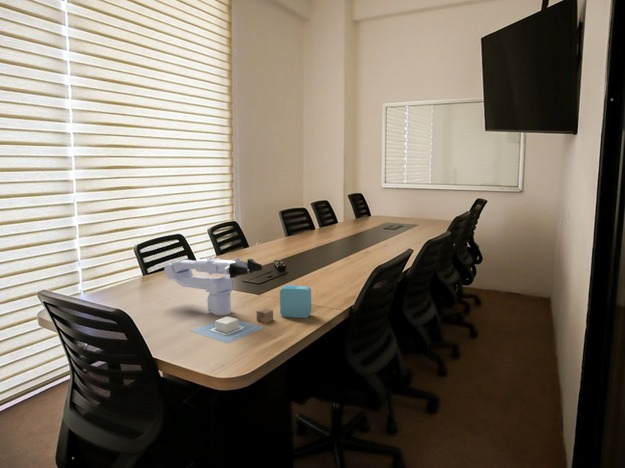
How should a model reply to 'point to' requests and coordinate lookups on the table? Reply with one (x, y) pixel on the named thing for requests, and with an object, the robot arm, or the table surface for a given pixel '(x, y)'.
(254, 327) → the blueprint board
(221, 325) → the base block
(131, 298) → the table surface
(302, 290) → the data package
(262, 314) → the walnut block
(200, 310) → the table surface
